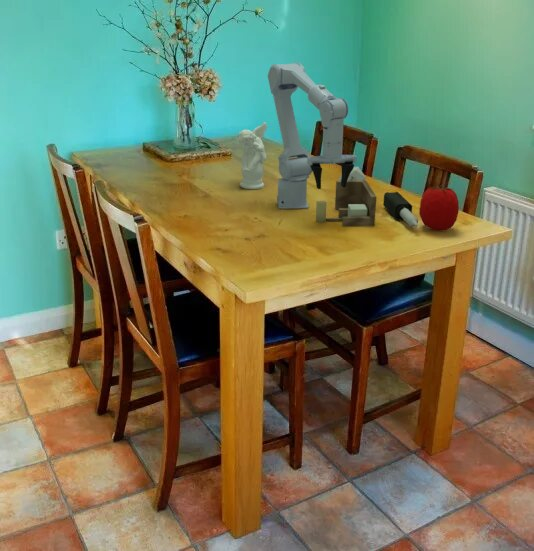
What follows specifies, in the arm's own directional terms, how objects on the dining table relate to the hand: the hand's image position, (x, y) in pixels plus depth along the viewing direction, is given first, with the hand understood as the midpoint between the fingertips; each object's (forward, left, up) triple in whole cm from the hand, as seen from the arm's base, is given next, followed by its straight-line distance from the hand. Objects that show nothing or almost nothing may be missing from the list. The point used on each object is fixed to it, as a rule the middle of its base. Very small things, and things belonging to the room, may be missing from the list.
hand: (331, 187), depth 205 cm
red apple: (+31, -8, -11) cm, 34 cm away
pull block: (+3, 0, -10) cm, 11 cm away
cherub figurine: (-23, +40, -11) cm, 47 cm away
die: (+12, +33, -11) cm, 36 cm away
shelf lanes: (+7, +4, -11) cm, 13 cm away
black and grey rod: (+21, +13, -8) cm, 26 cm away
